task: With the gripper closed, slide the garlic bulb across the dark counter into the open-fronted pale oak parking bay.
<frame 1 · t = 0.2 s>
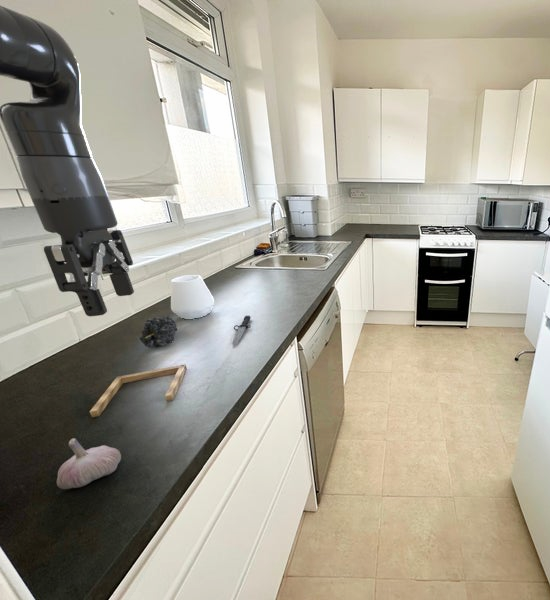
hand: (112, 304, 48), 28 cm above the countertop, tool pointing down, fingers open, 8 cm apart
fruit: (167, 339, 96), on the countertop
white tapered hollow cylinder: (196, 315, 114), on the countertop
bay: (143, 392, 72), on the countertop
garlic bulb: (94, 476, 52), on the countertop
knife: (241, 332, 100), on the countertop
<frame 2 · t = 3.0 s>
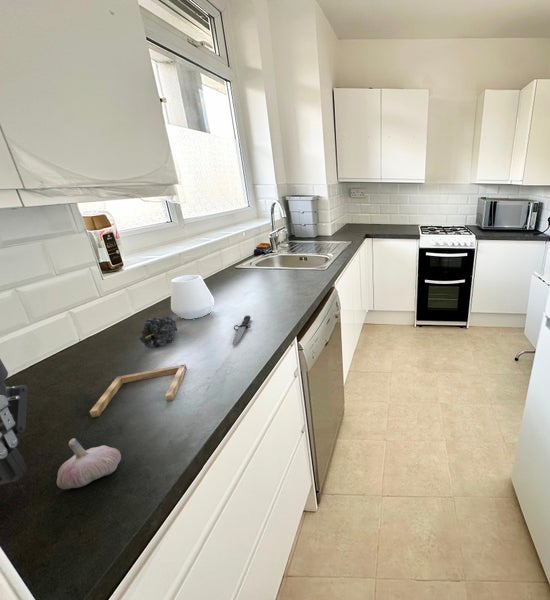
hand: (12, 478, 38), 12 cm above the countertop, tool pointing down, fingers closed
nothing on the countertop moved.
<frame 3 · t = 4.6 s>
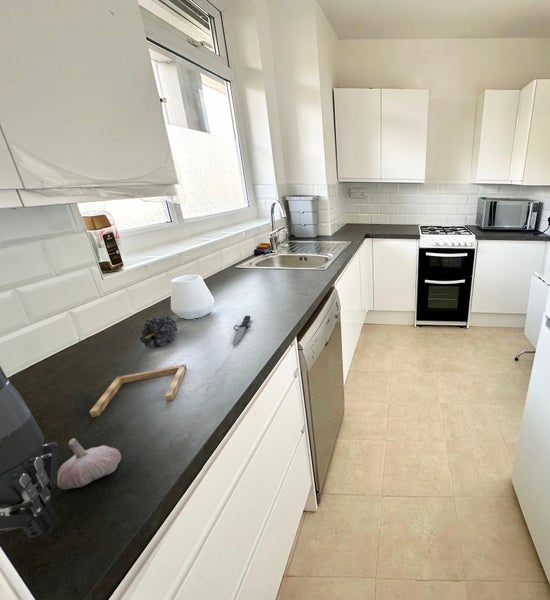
hand: (46, 530, 41), 3 cm above the countertop, tool pointing down, fingers closed
nothing on the countertop moved.
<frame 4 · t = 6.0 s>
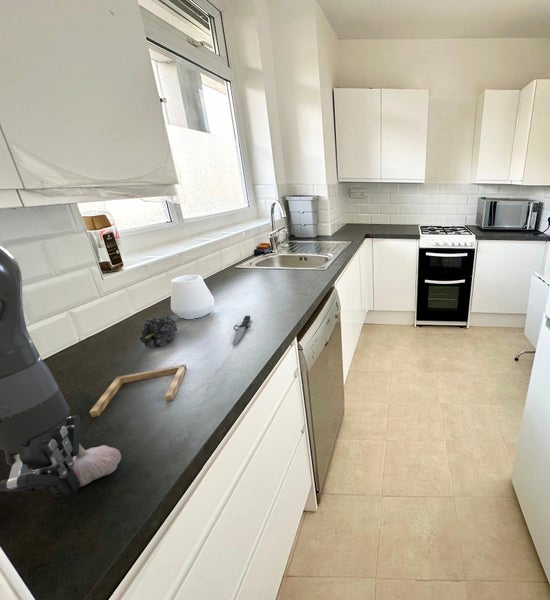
hand: (69, 492, 47), 2 cm above the countertop, tool pointing down, fingers closed
garlic bulb: (94, 476, 52), on the countertop, touching gripper
everything else where it was.
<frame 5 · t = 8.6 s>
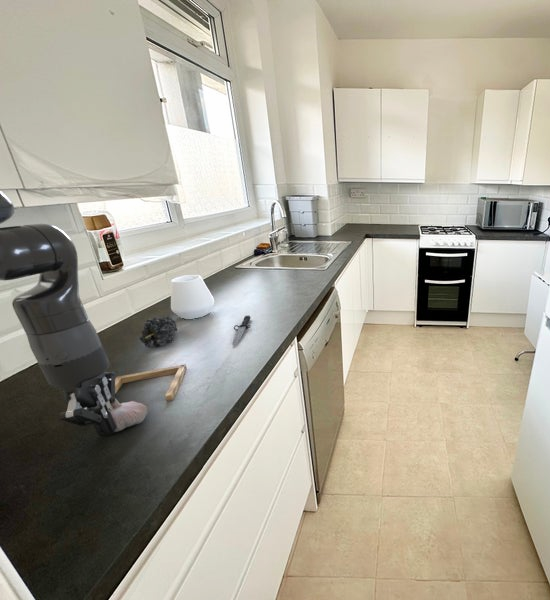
hand: (108, 432, 57), 3 cm above the countertop, tool pointing down, fingers closed
garlic bulb: (126, 425, 63), on the countertop, touching gripper
everything else where it was.
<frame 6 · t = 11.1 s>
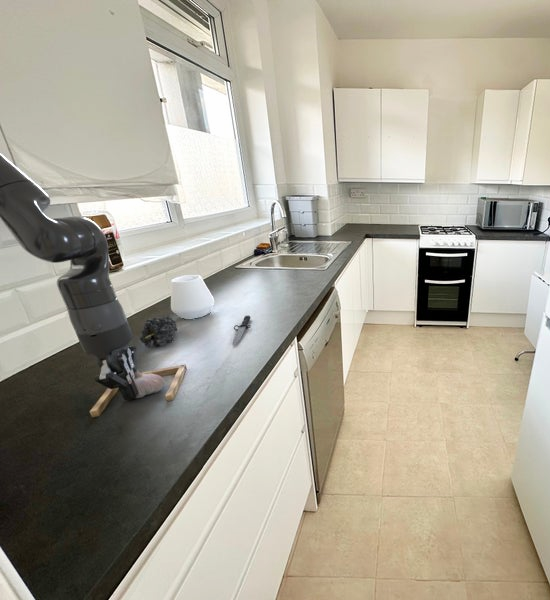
hand: (131, 397, 66), 3 cm above the countertop, tool pointing down, fingers closed
garlic bulb: (145, 394, 72), on the countertop, touching gripper
everything else where it was.
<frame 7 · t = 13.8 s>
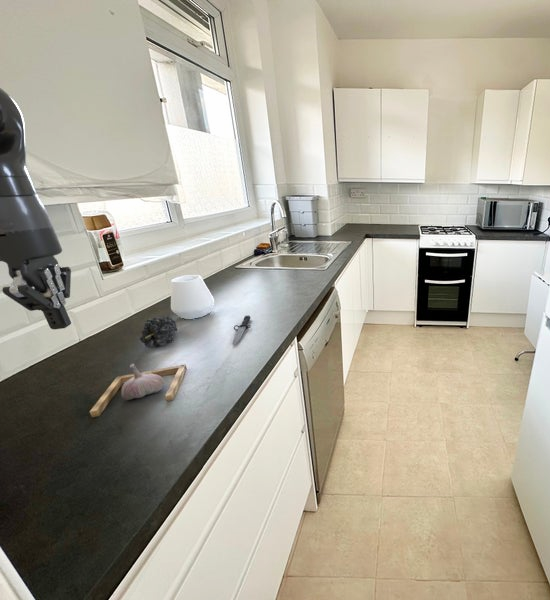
hand: (61, 327, 54), 22 cm above the countertop, tool pointing down, fingers closed
garlic bulb: (145, 394, 72), on the countertop
everything else where it was.
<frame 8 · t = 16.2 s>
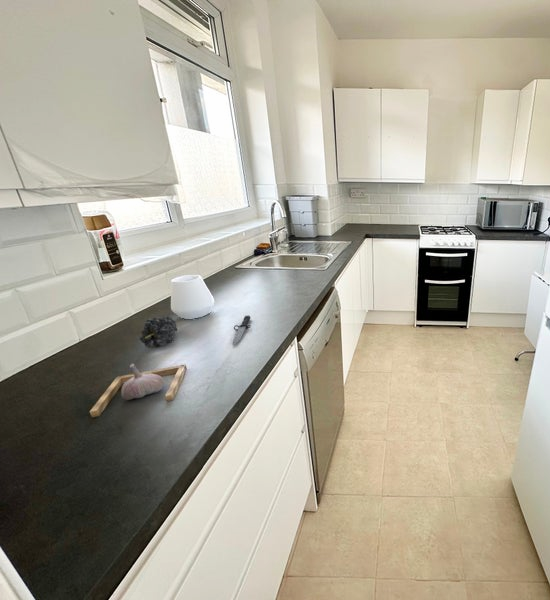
nothing on the countertop moved.
at the end: garlic bulb inside the target area on the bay (0.9 cm from its centre), point 0.0 cm above the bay's base; garlic bulb moved 22.7 cm from its start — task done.
